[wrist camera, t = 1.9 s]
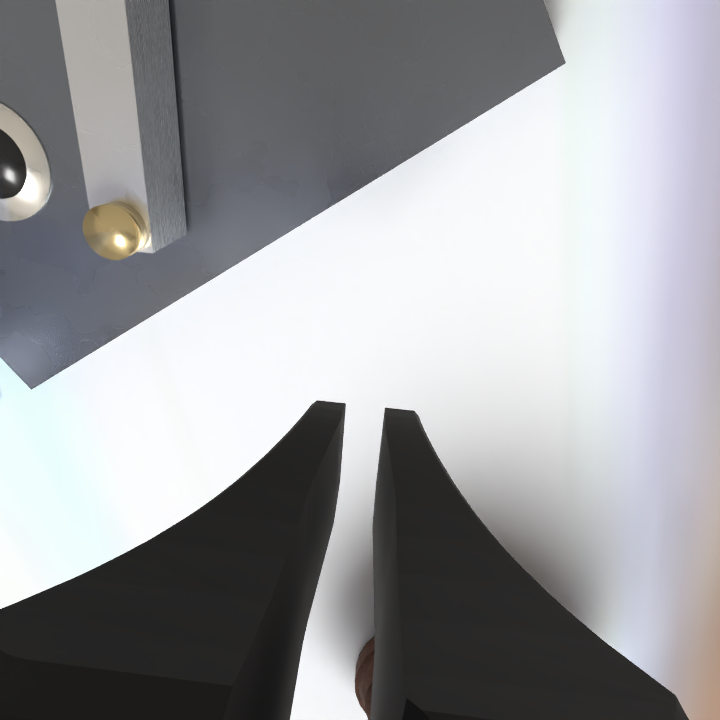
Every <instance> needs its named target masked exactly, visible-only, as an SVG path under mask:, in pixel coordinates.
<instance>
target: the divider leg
mask: <svg viewBox="0 0 720 720" xmlns="http://www.w3.org/2000/svg"><path fill="white" fill-rule="evenodd" d="M55 1H56V7H57V13H58V19H59V26H60V32H61V38H62V44H63V50H64V56H65V62H66V69H67V75H68V81H69V87H70V93H71V99H72V105H73V111H74V118H75V124H76V130H77V136H78V142H79V148H80V154H81V160H82V167H83V173H84V179H85V185H86V191H87V197H88V203H89V211H88V212H87V213H86V215H85V217H84V219H83V233H84V236H85V239H86V241H87V243H88V244H89V246H90V247H91V248H92V249H93V250H94V251H95V252H96V253H97V254H99V255H100V256H102V257H104V258H107V259H110V260H121V259H124V258H126V257H128V256H130V255H132V254H134V253H136V252H144V253H154V252H156V251H158V250H160V249H161V248H163V247H165V246H167V245H169V244H170V243H172V242H174V241H176V240H177V239H179V238H181V237H183V236H184V235H186V234H187V229H186V216H185V203H184V191H183V178H182V165H181V153H180V140H179V128H178V115H177V102H176V90H175V77H174V64H173V52H172V39H171V27H170V14H169V1H168V0H55Z"/></svg>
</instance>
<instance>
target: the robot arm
mask: <svg viewBox="0 0 720 720" xmlns="http://www.w3.org/2000/svg"><path fill="white" fill-rule="evenodd" d="M345 407H346V404H345V403H336V402H326V401H316V402H315V403H313V404H312V405H311V406H310V407H309V409H308V410H307V411H306V412H305V414H304V415H303V416H302V417H301V418H300V420H299V421H298V422H297V423H296V424H295V425H294V426H293V427H292V428H291V430H290V431H289V432H288V433H287V434H286V435H285V436H284V437H283V438H282V439H281V440H280V441H279V442H278V443H277V444H276V445H275V446H274V447H273V448H272V449H271V450H270V451H269V452H268V453H267V454H266V455H265V456H264V457H263V458H262V459H261V460H259V461H258V462H257V463H256V464H255V465H254V466H253V467H252V468H250V469H249V470H248V471H247V472H246V473H245V474H244V475H243V476H241V477H240V478H239V479H238V480H237V481H235V482H234V483H233V484H232V485H231V486H229V487H228V488H227V489H225V490H224V491H223V492H222V493H220V494H219V495H218V496H216V497H215V498H214V499H212V500H211V501H209V502H208V503H207V504H205V505H204V506H203V507H201V508H200V509H198V510H197V511H195V512H194V513H192V514H191V515H189V516H188V517H186V518H185V519H183V520H181V521H180V522H178V523H176V524H175V525H173V526H172V527H170V528H168V529H167V530H165V531H163V532H162V533H160V534H159V535H157V536H155V537H154V538H152V539H150V540H148V541H147V542H145V543H143V544H141V545H139V546H137V547H135V548H134V549H132V550H130V551H128V552H126V553H124V554H122V555H120V556H118V557H116V558H114V559H112V560H110V561H108V562H106V563H104V564H102V565H100V566H98V567H96V568H94V569H92V570H90V571H88V572H86V573H84V574H82V575H79V576H77V577H75V578H73V579H71V580H68V581H66V582H64V583H61V584H59V585H57V586H54V587H52V588H50V589H47V590H45V591H43V592H40V593H38V594H36V595H33V596H31V597H29V598H26V599H24V600H22V601H19V602H17V603H15V604H12V605H10V606H7V607H5V608H2V609H0V720H290V715H291V709H292V703H293V697H294V691H295V685H296V679H297V673H298V668H299V662H300V656H301V650H302V644H303V640H304V635H305V631H306V626H307V622H308V618H309V614H310V610H311V606H312V603H313V599H314V595H315V591H316V588H317V584H318V580H319V576H320V573H321V569H322V565H323V561H324V557H325V554H326V550H327V546H328V542H329V538H330V535H331V531H332V527H333V523H334V517H335V511H336V504H337V497H338V490H339V484H340V474H341V460H342V447H343V433H344V420H345ZM373 570H374V613H375V650H374V667H373V683H372V698H371V713H370V720H689V719H688V717H687V716H686V714H685V712H684V710H683V708H682V707H681V705H680V703H679V701H678V699H677V697H676V696H675V695H674V694H673V693H672V692H670V691H669V690H668V689H666V688H665V687H664V686H662V685H661V684H660V683H658V682H657V681H656V680H654V679H653V678H652V677H650V676H649V675H648V674H646V673H645V672H644V671H643V670H641V669H640V668H639V667H637V666H636V665H635V664H633V663H632V662H631V661H629V660H628V659H627V658H625V657H624V656H623V655H621V654H620V653H619V652H617V651H616V650H615V649H613V648H612V647H611V646H609V645H608V644H607V643H606V642H604V641H603V640H602V639H601V638H599V637H598V636H597V635H596V634H595V633H593V632H592V631H591V630H590V629H589V628H587V627H586V626H585V625H584V624H583V623H582V622H580V621H579V620H578V619H577V618H576V617H575V616H573V615H572V614H571V613H570V612H569V611H568V610H566V609H565V608H564V607H563V606H562V605H561V604H560V603H559V602H557V601H556V600H555V599H554V598H553V597H552V596H551V595H550V594H549V593H548V592H547V591H546V590H545V589H544V588H543V587H541V586H540V585H539V584H538V583H537V582H536V581H535V580H534V579H533V578H532V577H531V576H530V575H529V574H528V573H527V572H526V571H525V570H524V569H523V568H522V567H521V566H520V565H519V564H518V563H517V562H516V561H515V560H514V559H513V558H512V557H511V555H510V554H509V553H508V552H507V551H506V550H505V549H504V548H503V547H502V546H501V544H500V543H499V542H498V541H497V540H496V538H495V537H494V536H493V535H492V534H491V533H490V531H489V530H488V529H487V528H486V527H485V525H484V524H483V523H482V521H481V520H480V519H479V518H478V516H477V515H476V514H475V512H474V511H473V510H472V508H471V507H470V505H469V504H468V503H467V501H466V500H465V498H464V497H463V496H462V494H461V493H460V491H459V490H458V488H457V487H456V485H455V484H454V482H453V481H452V479H451V477H450V476H449V474H448V473H447V471H446V469H445V468H444V466H443V464H442V463H441V461H440V459H439V458H438V456H437V454H436V452H435V450H434V448H433V447H432V445H431V443H430V441H429V439H428V437H427V435H426V433H425V431H424V428H423V426H422V424H421V421H420V419H419V416H418V415H417V414H416V413H415V411H410V410H401V409H392V408H385V413H384V422H383V430H382V439H381V447H380V456H379V464H378V473H377V481H376V492H375V504H374V516H373Z"/></svg>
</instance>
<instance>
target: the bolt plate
mask: <svg viewBox="0 0 720 720" xmlns="http://www.w3.org/2000/svg"><path fill="white" fill-rule="evenodd" d="M168 1H169V14H170V27H171V39H172V52H173V64H174V77H175V90H176V102H177V115H178V128H179V140H180V153H181V165H182V178H183V191H184V203H185V216H186V229H187V234H186V235H184V236H183V237H181V238H179V239H177V240H176V241H174V242H172V243H170V244H169V245H167V246H165V247H163V248H161V249H160V250H158V251H156V252H154V253H144V252H136V253H134V254H132V255H130V256H128V257H126V258H124V259H121V260H110V259H107V258H104V257H102V256H100V255H99V254H97V253H96V252H95V251H94V250H93V249H92V248H91V247H90V246H89V244H88V243H87V241H86V239H85V236H84V233H83V219H84V217H85V215H86V213H87V212H88V211H89V203H88V197H87V191H86V185H85V179H84V173H83V167H82V160H81V154H80V148H79V142H78V136H77V130H76V124H75V118H74V111H73V105H72V99H71V93H70V87H69V81H68V75H67V69H66V62H65V56H64V50H63V44H62V38H61V32H60V26H59V19H58V13H57V7H56V1H55V0H0V357H1V358H2V359H3V360H4V361H5V363H6V364H7V365H8V366H9V367H10V368H11V369H12V370H13V371H14V372H15V373H16V374H17V375H18V376H19V377H20V378H21V379H22V380H23V381H24V382H25V383H26V384H27V385H28V387H29V388H30V389H33V388H35V387H36V386H38V385H40V384H41V383H43V382H44V381H46V380H48V379H49V378H51V377H53V376H54V375H56V374H58V373H59V372H61V371H62V370H64V369H66V368H67V367H69V366H71V365H72V364H74V363H76V362H77V361H79V360H80V359H82V358H84V357H85V356H87V355H89V354H90V353H92V352H94V351H95V350H97V349H98V348H100V347H102V346H103V345H105V344H107V343H108V342H110V341H112V340H113V339H115V338H116V337H118V336H120V335H121V334H123V333H125V332H126V331H128V330H130V329H131V328H133V327H134V326H136V325H138V324H139V323H141V322H143V321H144V320H146V319H148V318H149V317H151V316H152V315H154V314H156V313H157V312H159V311H161V310H162V309H164V308H166V307H167V306H169V305H170V304H172V303H174V302H175V301H177V300H179V299H180V298H182V297H184V296H185V295H187V294H188V293H190V292H192V291H193V290H195V289H197V288H198V287H200V286H202V285H203V284H205V283H206V282H208V281H210V280H211V279H213V278H215V277H216V276H218V275H220V274H221V273H223V272H224V271H226V270H228V269H229V268H231V267H233V266H234V265H236V264H238V263H239V262H241V261H242V260H244V259H246V258H247V257H249V256H251V255H252V254H254V253H256V252H257V251H259V250H260V249H262V248H264V247H265V246H267V245H269V244H270V243H272V242H274V241H275V240H277V239H278V238H280V237H282V236H283V235H285V234H287V233H288V232H290V231H292V230H293V229H295V228H296V227H298V226H300V225H301V224H303V223H305V222H306V221H308V220H310V219H311V218H313V217H315V216H316V215H318V214H319V213H321V212H323V211H324V210H326V209H328V208H329V207H331V206H333V205H334V204H336V203H337V202H339V201H341V200H342V199H344V198H346V197H347V196H349V195H351V194H352V193H354V192H355V191H357V190H359V189H360V188H362V187H364V186H365V185H367V184H369V183H370V182H372V181H373V180H375V179H377V178H378V177H380V176H382V175H383V174H385V173H387V172H388V171H390V170H391V169H393V168H395V167H396V166H398V165H400V164H401V163H403V162H405V161H406V160H408V159H409V158H411V157H413V156H414V155H416V154H418V153H419V152H421V151H423V150H424V149H426V148H427V147H429V146H431V145H432V144H434V143H436V142H437V141H439V140H441V139H442V138H444V137H445V136H447V135H449V134H450V133H452V132H454V131H455V130H457V129H459V128H460V127H462V126H463V125H465V124H467V123H468V122H470V121H472V120H473V119H475V118H477V117H478V116H480V115H481V114H483V113H485V112H486V111H488V110H490V109H491V108H493V107H495V106H496V105H498V104H499V103H501V102H503V101H504V100H506V99H508V98H509V97H511V96H513V95H514V94H516V93H517V92H519V91H521V90H522V89H524V88H526V87H527V86H529V85H531V84H532V83H534V82H535V81H537V80H539V79H540V78H542V77H544V76H545V75H547V74H549V73H550V72H552V71H553V70H555V69H557V68H558V67H560V66H562V65H563V64H565V60H564V57H563V54H562V52H561V49H560V46H559V43H558V41H557V38H556V35H555V33H554V30H553V27H552V24H551V22H550V19H549V16H548V13H547V11H546V8H545V5H544V3H543V0H168Z"/></svg>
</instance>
